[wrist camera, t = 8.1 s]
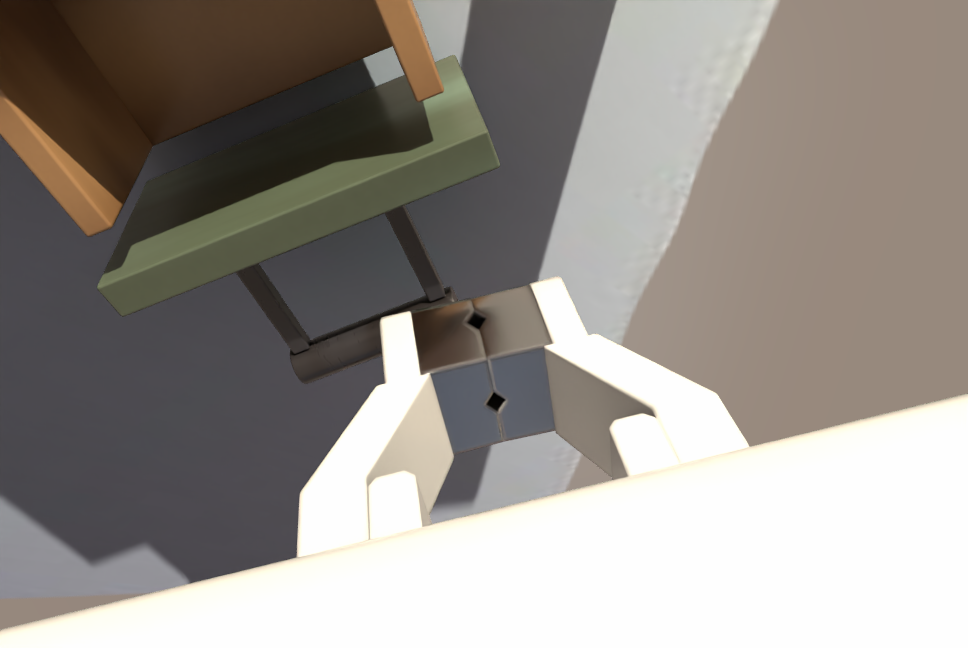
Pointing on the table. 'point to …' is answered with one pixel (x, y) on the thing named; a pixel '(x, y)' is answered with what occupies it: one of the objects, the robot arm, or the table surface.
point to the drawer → (245, 166)
